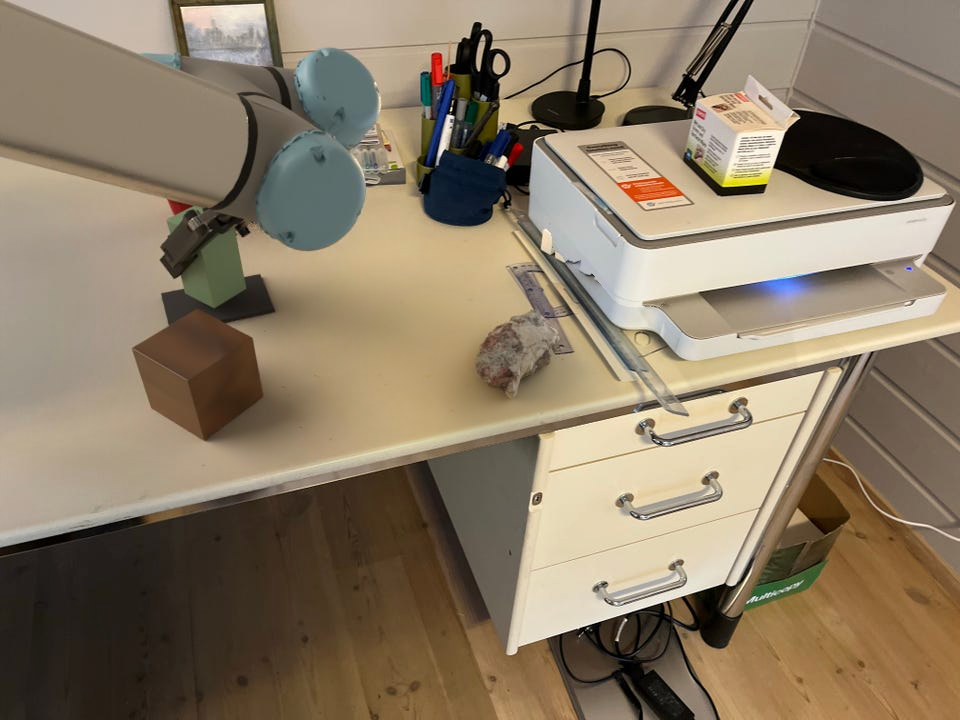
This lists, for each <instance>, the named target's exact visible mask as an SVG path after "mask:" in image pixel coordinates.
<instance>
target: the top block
mask: <svg viewBox="0 0 960 720" xmlns="http://www.w3.org/2000/svg"><path fill="white" fill-rule="evenodd" d="M192 209H194V210H198V211H199V212H200V213H203V210H202V208H201V207H197V206H193V207H191V208H189V209H187V210H185V211H183V212H181V213H179V214H177V215H173V216H171V217H168V218H167V219H166V224H167V226H168V231H169V235H170V234H171V233H172V232H173V231H174V230H175V228H176V227H177V226H178V225H179V224H180V222H181V221H182V220H183V215H184V214H185V213H186V212H187V211H188V210H192ZM236 233H237V231H236V232H235V227H234V228H233V229H232V230H231V231H229V232H226V233H224V234H219V235H218V236H217V237H215V238H214V239H213V240H212V241H211V242H210V243H209V244H207V245H206V246H205V247H204V248H203V249H202V250H201V251H199V252H198V253H197V255H198V257H197V258H196V259H195V260H194V261H193V262H192V263H191V265H190V266H189V267H188V268H187V269H186V270H185V271H184V272H183V273H182V274H181V275H180V278H181V283H182V286H183V289H184V291H185V294H187V295H189V296H191V297H193V298H195V299H197V300H199V301H201V302H203V303H205V304H207V305H209V306H211V307H213V308H216V307H217V306H219V305H220V304H222V303H224V302H225V301H227V300H229V299H230V298H232V297H234V296H235V295H237V294H238V293H240V292H242V291H243V290H245V289H246V284H245V279H244V277H245V275H244V269H243V264H242V259H241V254H240V249H239V243H238V242H239V241H238V237H237V236H236Z"/></svg>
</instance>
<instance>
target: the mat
mask: <svg viewBox="0 0 960 720" xmlns="http://www.w3.org/2000/svg"><path fill="white" fill-rule="evenodd" d="M244 279H245V284H246V289H245V290H243V291H242V292H240V293H238V294H237V295H235V296H234V297H232V298H230V299H229V300H227V301H225V302H224V303H222V304H220V305H219V306H217V307H216V308H213V307H211V306H209V305H207V304H205V303H203V302H201V301H199V300H197V299H195V298H193V297H191V296H189V295H187V294H185V291H184V288H181V289H175V290H171V291H165V292H161V293H160V295H161V300H162V303H163V308H164V312H165V316H166V319H167V320H166V321H167V324H168V325H167V326H169V325H171V324H173V323H174V322H176V321H178V320H179V319H181V318H183V317H184V316H186V315H188V314H189V313H191V312H193V311H194V310H196V309H199V310H201V311H203V312H204V313H206V314H208V315H210V316H212V317H214V318H216V319H218V320H220V321H222V322H224V323H229V322H233V321H238V320H243V319H248V318H253V317H257V316H261V315H267V314H271V313H276V309H275V306H274V304H273V301H272V299H271V296H270V294H269V292H268V289H267V287H266V284H265V282H264V279H263V277H262V275H261V273H257V274H252V275H246V276H244Z"/></svg>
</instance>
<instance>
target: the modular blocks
mask: <svg viewBox="0 0 960 720" xmlns="http://www.w3.org/2000/svg"><path fill="white" fill-rule="evenodd" d="M540 251H542V252H544V253H546V254H548V255H550V256H551V255H553V254H554V258H555V259H557V260H558V261H561V263H567V262H566V261H565V260H564V259H563V257H562V256H561V255H560V254H559V253H557V252H556V248H555V247H554V248H552V236H551V233H550V232H549V231H548V230H547V229H546V228H544V229H542V236H541V244H540Z"/></svg>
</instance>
